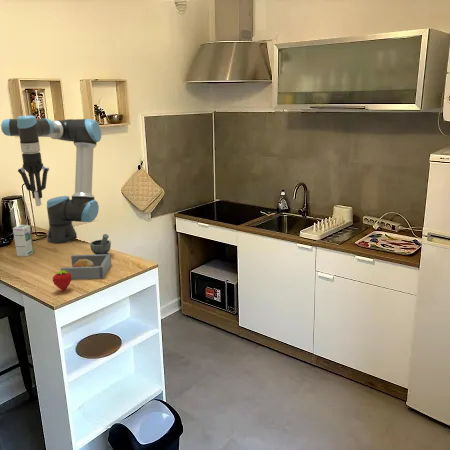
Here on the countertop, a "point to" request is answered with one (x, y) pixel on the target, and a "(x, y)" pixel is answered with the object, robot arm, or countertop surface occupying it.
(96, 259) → the box
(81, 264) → the bread roll
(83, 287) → the countertop surface
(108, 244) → the mortar and pestle
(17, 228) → the syrup box
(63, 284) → the strawberry
